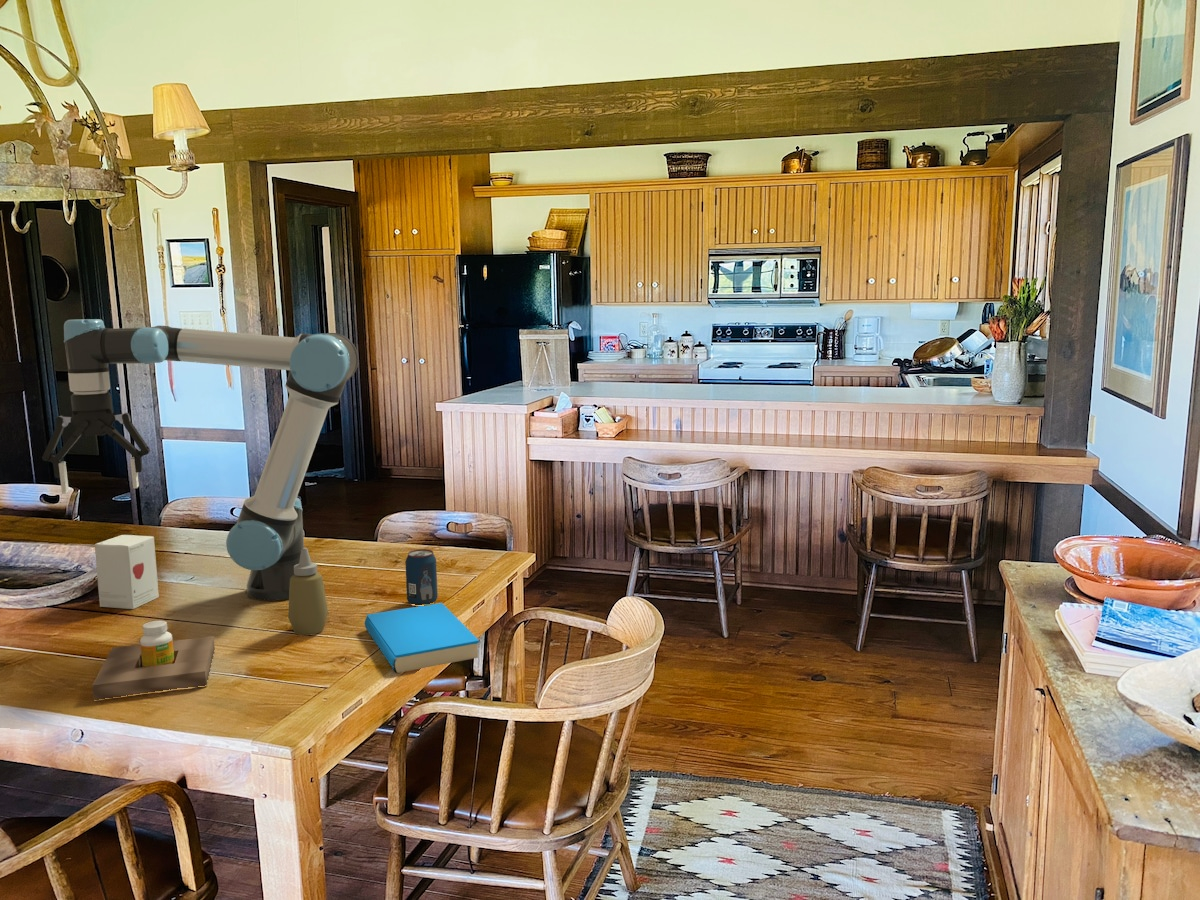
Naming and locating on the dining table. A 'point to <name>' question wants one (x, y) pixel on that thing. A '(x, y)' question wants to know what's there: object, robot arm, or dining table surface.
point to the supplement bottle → (156, 644)
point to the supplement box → (126, 571)
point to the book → (421, 637)
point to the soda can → (421, 577)
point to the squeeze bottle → (307, 597)
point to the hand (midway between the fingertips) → (101, 489)
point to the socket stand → (154, 669)
